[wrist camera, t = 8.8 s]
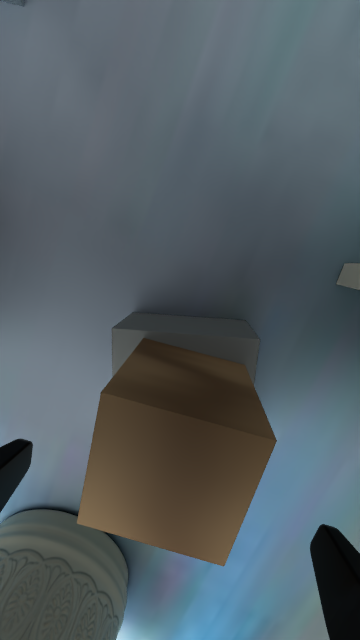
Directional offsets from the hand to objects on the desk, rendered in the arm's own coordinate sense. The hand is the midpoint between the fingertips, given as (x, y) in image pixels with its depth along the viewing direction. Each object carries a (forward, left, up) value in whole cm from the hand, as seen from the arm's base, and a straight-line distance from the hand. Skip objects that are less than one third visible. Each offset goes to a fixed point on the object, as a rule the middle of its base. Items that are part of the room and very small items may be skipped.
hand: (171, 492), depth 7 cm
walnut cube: (0, 0, -5) cm, 5 cm away
